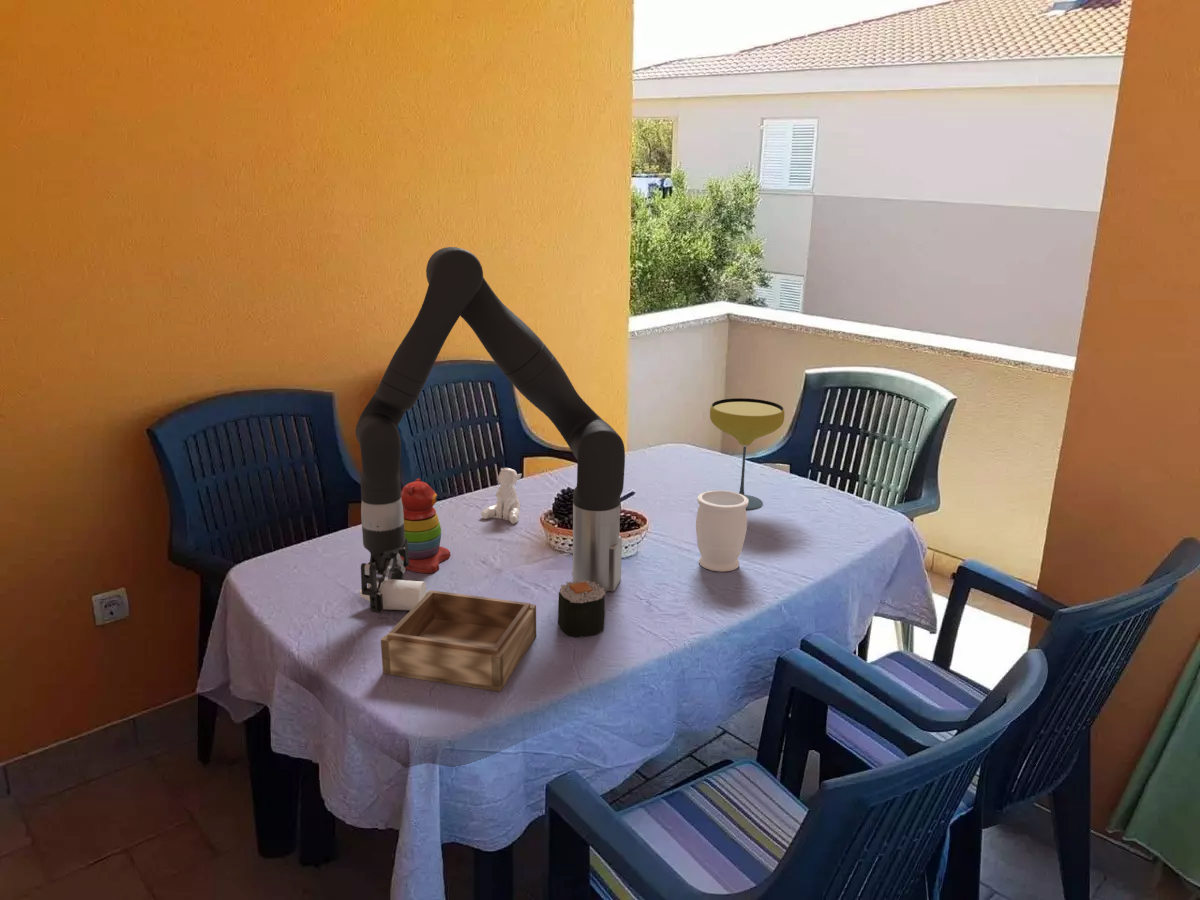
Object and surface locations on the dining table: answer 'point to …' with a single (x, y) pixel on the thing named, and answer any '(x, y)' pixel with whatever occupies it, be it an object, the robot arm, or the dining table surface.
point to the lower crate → (460, 659)
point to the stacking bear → (422, 528)
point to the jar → (721, 529)
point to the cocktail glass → (747, 426)
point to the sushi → (581, 608)
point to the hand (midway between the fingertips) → (387, 601)
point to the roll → (400, 594)
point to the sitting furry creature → (505, 498)
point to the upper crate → (460, 622)
